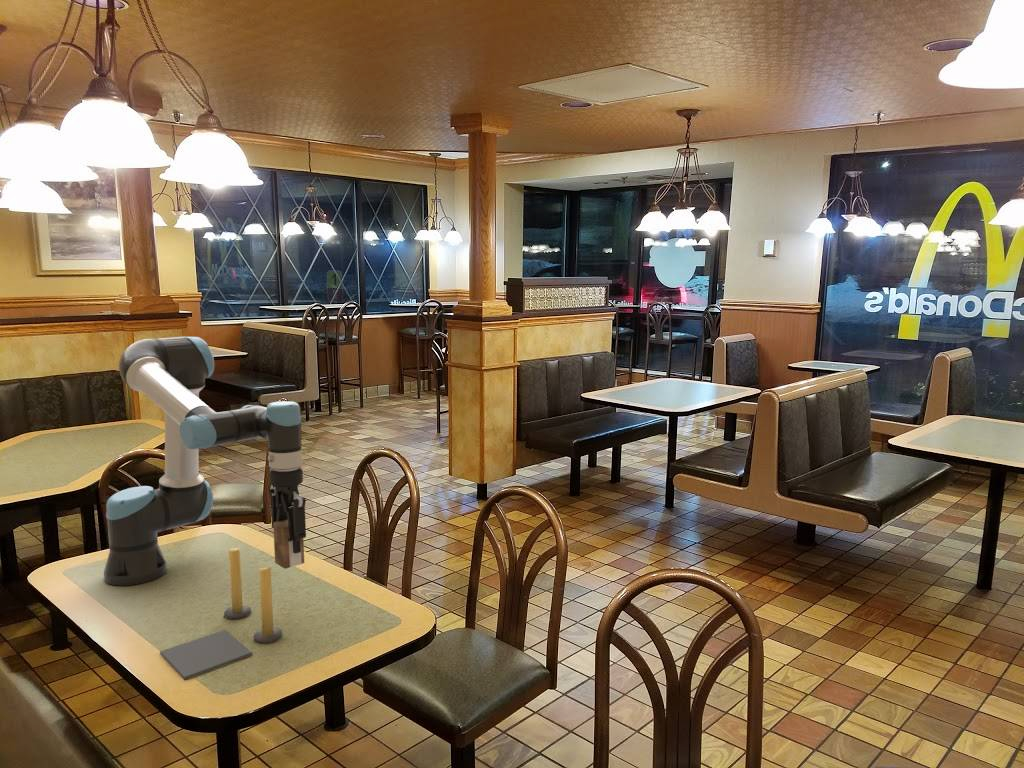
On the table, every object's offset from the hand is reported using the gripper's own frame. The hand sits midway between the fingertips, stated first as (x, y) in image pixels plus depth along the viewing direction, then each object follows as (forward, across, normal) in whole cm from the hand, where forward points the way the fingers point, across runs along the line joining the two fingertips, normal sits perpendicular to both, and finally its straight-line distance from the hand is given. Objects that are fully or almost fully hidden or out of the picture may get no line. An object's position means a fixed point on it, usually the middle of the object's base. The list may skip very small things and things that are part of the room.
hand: (289, 561), depth 171 cm
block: (0, 0, 0) cm, 0 cm away
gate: (+13, 0, -10) cm, 16 cm away
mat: (+13, +6, -23) cm, 27 cm away
